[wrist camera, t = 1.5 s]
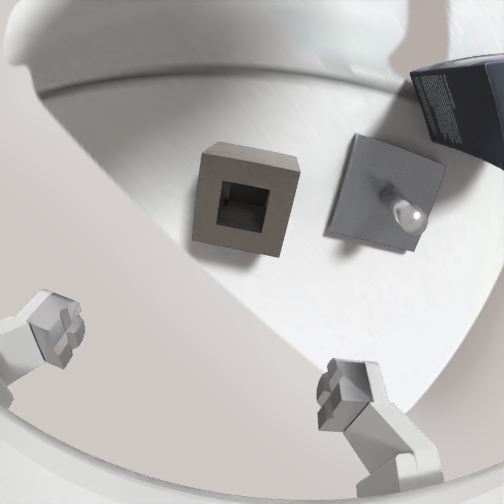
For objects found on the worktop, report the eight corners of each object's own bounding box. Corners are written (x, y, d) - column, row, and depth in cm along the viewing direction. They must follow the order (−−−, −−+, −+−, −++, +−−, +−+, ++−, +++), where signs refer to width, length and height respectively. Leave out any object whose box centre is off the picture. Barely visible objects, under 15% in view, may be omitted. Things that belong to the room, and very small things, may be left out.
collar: (218, 141, 21) (201, 153, 17) (296, 156, 21) (300, 172, 17) (207, 213, 24) (191, 240, 20) (279, 227, 24) (278, 257, 20)
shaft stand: (355, 132, 20) (380, 144, 15) (440, 163, 20) (479, 184, 15) (329, 226, 24) (342, 264, 19) (409, 246, 24) (436, 284, 19)
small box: (492, 51, 14) (574, 52, 5) (511, 118, 17) (591, 144, 7) (405, 68, 17) (485, 58, 8) (431, 144, 20) (512, 181, 10)
